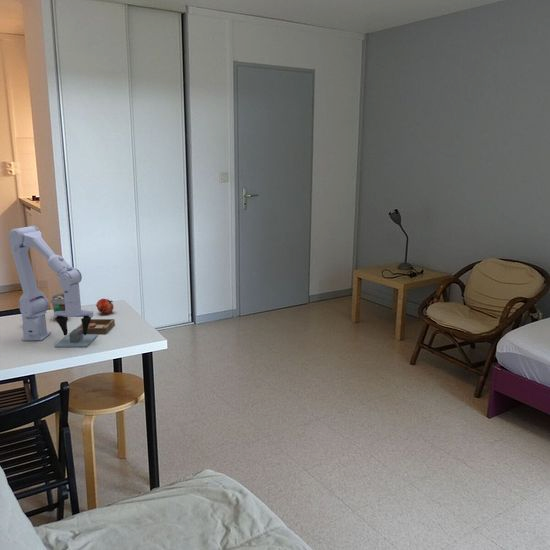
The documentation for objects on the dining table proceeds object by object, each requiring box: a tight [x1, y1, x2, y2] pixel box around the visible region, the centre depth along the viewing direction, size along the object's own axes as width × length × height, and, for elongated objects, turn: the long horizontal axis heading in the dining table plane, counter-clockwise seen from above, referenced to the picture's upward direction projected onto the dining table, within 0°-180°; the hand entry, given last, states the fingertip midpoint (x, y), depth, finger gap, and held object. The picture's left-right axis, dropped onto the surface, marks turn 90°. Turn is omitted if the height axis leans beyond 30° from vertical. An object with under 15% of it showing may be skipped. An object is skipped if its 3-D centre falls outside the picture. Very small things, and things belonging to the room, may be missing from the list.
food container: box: [50, 292, 69, 321], centre depth 234 cm, size 12×6×10 cm, turn 25°
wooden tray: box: [75, 318, 116, 335], centre depth 221 cm, size 12×12×2 cm
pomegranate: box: [95, 298, 115, 315], centre depth 241 cm, size 7×7×10 cm
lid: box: [54, 328, 99, 348], centre depth 206 cm, size 12×12×5 cm
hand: (75, 334), depth 205 cm, fingers open, 7 cm apart
